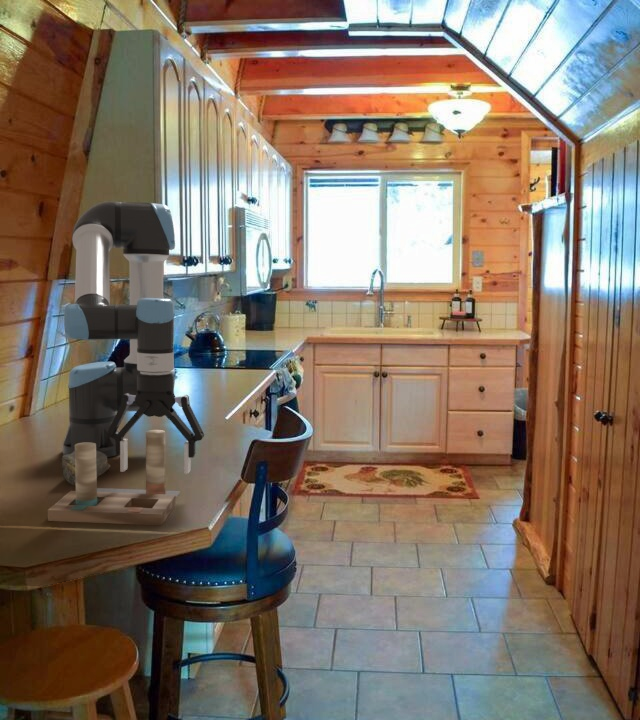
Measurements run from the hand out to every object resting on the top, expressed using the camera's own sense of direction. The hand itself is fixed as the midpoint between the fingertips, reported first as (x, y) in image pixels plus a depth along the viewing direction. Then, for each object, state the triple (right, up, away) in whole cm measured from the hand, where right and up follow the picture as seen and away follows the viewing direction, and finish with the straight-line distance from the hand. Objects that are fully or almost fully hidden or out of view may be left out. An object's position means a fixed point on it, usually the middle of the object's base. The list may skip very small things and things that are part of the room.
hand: (155, 471), depth 158 cm
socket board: (-6, -7, -10) cm, 14 cm away
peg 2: (0, -5, +1) cm, 6 cm away
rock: (-19, -4, +14) cm, 24 cm away
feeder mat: (-6, -6, +1) cm, 8 cm away
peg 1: (-12, -7, -10) cm, 17 cm away
